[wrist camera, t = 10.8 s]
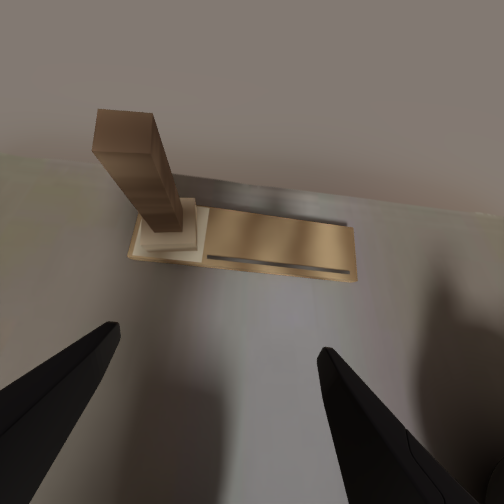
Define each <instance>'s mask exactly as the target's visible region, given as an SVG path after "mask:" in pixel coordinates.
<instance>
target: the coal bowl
mask: <svg viewBox="0 0 504 504" xmlns="http://www.w3.org/2000/svg"><path fill="white" fill-rule="evenodd" d="M485 504H504V458H503V459H502V460H501V461H500V462H499V463H498V464H497V466H496V467H495V469H494V471H493V473H492V475H491V477H490V480H489V483H488V487H487V492H486V502H485Z"/></svg>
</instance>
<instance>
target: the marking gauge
mask: <svg viewBox="0 0 504 504" xmlns="http://www.w3.org/2000/svg"><path fill="white" fill-rule="evenodd" d="M92 152H93V153H94V155H95V156H96V157H97V159H98V160H99V161H100V162H101V164H102V165H103V166H104V168H105V169H106V170H107V172H108V173H109V174H110V176H111V177H112V178H113V179H114V181H115V182H116V183H117V185H118V186H119V187H120V189H121V190H122V191H123V192H124V194H125V195H126V196H127V198H128V199H129V200H130V202H131V203H132V204H133V206H134V207H135V208H136V209H137V211H138V212H139V213H140V215H141V216H142V221H141V237H140V245H141V246H142V247H143V248H144V249H145V250H146V251H147V252H174V251H198V247H197V208H196V202H195V198H179V195H178V192H177V189H176V186H175V182H174V179H173V176H172V173H171V170H170V167H169V163H168V160H167V157H166V154H165V151H164V148H163V145H162V142H161V138H160V135H159V132H158V129H157V126H156V122H155V119H154V116H153V114H152V113H143V112H130V111H117V110H106V109H98V112H97V119H96V126H95V132H94V140H93V146H92Z"/></svg>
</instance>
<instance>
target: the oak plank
mask: <svg viewBox="0 0 504 504" xmlns="http://www.w3.org/2000/svg"><path fill="white" fill-rule="evenodd" d="M196 208H197V247H198V251H174V252H147V251H146V250H145V249H144V248H143V247H142V246H141V245H140V237H141V221H142V216H141V215H140V213H138V217H137V220H136V224H135V228H134V232H133V236H132V239H131V243H130V247H129V251H128V255H127V257H129V258H130V259H132V260H142V261H151V262H161V263H171V264H180V265H190V266H199V267H209V268H218V269H228V270H237V271H247V272H256V273H266V274H276V275H285V276H295V277H304V278H314V279H323V280H333V281H342V282H356V281H358V280H357V268H356V255H355V243H354V231H353V228H352V227H345V226H338V225H331V224H324V223H318V222H311V221H304V220H297V219H290V218H283V217H276V216H269V215H262V214H256V213H249V212H242V211H235V210H228V209H221V208H214V207H207V206H200V205H196Z"/></svg>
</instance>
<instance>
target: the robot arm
mask: <svg viewBox="0 0 504 504" xmlns="http://www.w3.org/2000/svg"><path fill="white" fill-rule="evenodd" d="M120 338H121V334H120V326H119V323H118V322H111V321H108V322H106V323H104V324H102V325H101V326H99V327H98V328H96V329H95V330H93V331H92V332H90V333H88V334H87V335H85V336H84V337H82V338H81V339H79V340H78V341H76V342H75V343H73V344H71V345H70V346H68V347H67V348H65V349H64V350H62V351H61V352H59V353H57V354H56V355H54V356H53V357H51V358H50V359H48V360H47V361H45V362H44V363H42V364H40V365H39V366H37V367H36V368H34V369H33V370H31V371H30V372H28V373H26V374H25V375H23V376H22V377H20V378H19V379H17V380H16V381H14V382H12V383H11V384H9V385H8V386H6V387H5V388H3V389H2V390H0V504H29V503H30V501H31V499H32V498H33V496H34V494H35V493H36V491H37V489H38V488H39V486H40V484H41V482H42V481H43V479H44V477H45V476H46V474H47V472H48V471H49V469H50V467H51V465H52V464H53V462H54V460H55V459H56V457H57V455H58V453H59V452H60V450H61V448H62V447H63V445H64V443H65V442H66V440H67V438H68V436H69V435H70V433H71V431H72V430H73V428H74V426H75V425H76V423H77V421H78V419H79V418H80V416H81V414H82V413H83V411H84V409H85V408H86V406H87V404H88V402H89V401H90V399H91V397H92V396H93V394H94V392H95V390H96V389H97V387H98V385H99V384H100V382H101V380H102V378H103V376H104V374H105V372H106V369H107V367H108V365H109V363H110V361H111V359H112V357H113V354H114V352H115V350H116V348H117V346H118V344H119V341H120ZM317 367H318V373H319V379H320V386H321V392H322V398H323V402H324V407H325V411H326V415H327V419H328V422H329V426H330V430H331V434H332V438H333V442H334V446H335V450H336V454H337V458H338V462H339V466H340V470H341V474H342V478H343V482H344V486H345V490H346V494H347V498H348V502H349V504H479V503H478V502H477V501H476V500H475V499H474V498H473V497H472V496H471V495H470V494H469V493H468V492H467V491H466V490H465V489H464V488H463V487H462V486H461V485H460V484H459V483H458V482H457V481H456V480H455V479H454V478H453V477H452V476H451V475H450V474H449V473H448V472H447V471H446V470H445V469H444V468H443V467H442V466H441V465H440V464H439V463H438V462H437V461H436V460H435V459H434V458H433V457H432V456H431V455H430V454H429V452H428V451H427V450H426V449H425V448H424V447H423V446H422V445H421V444H420V443H419V442H418V441H417V440H416V439H415V437H414V436H413V435H412V434H411V433H410V432H409V431H408V430H407V429H405V427H404V426H403V424H402V423H401V422H400V421H399V420H398V419H397V418H396V417H395V416H394V415H393V413H392V412H391V411H390V410H389V409H388V408H387V407H386V406H385V405H384V404H383V402H382V401H381V400H380V399H379V398H378V397H377V396H376V395H375V394H374V393H373V392H372V390H371V389H370V388H369V387H368V386H367V385H366V384H365V383H364V382H363V381H362V379H361V378H360V377H359V376H358V375H357V374H356V373H355V372H354V371H353V370H352V368H351V367H350V366H349V365H348V364H347V363H346V362H345V361H344V360H343V359H342V358H341V356H340V355H339V354H338V353H337V352H336V351H335V350H334V349H333V348H330V347H323V348H322V350H321V352H320V354H319V356H318V358H317Z"/></svg>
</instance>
